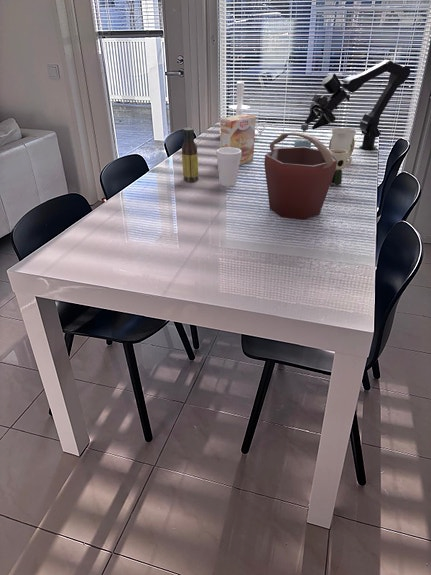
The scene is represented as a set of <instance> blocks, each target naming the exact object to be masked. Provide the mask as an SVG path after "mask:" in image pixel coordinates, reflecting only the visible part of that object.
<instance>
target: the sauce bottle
mask: <svg viewBox="0 0 431 575" xmlns="http://www.w3.org/2000/svg"><path fill="white" fill-rule="evenodd" d="M182 133H183V143H182V145H181V160H182V175H183V180H184V181H185V182H187V183H193V182H197V181H198V180H199V156H198V155H199V153H198V146H197V144H196V142H195V136H194V134H195V130H194V128H193V127H183V129H182Z"/></svg>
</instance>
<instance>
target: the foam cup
mask: <svg viewBox="0 0 431 575" xmlns="http://www.w3.org/2000/svg"><path fill="white" fill-rule="evenodd" d="M240 158H241V150H240V149H238V148H232V147H225V148H220V147H219V148H218V149H216V160H217V168H218V178H219V185H220V186H222V187H228V188H230V187H234V186H236V185H237V183H238V182H237V181H238V175H239V169H240V165H239V164H240Z"/></svg>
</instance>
